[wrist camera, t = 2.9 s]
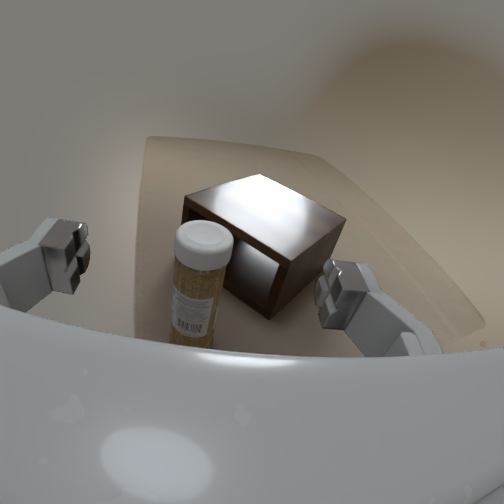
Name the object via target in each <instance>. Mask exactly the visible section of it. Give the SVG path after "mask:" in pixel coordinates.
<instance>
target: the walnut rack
mask: <svg viewBox="0 0 504 504" xmlns="http://www.w3.org/2000/svg"><path fill="white" fill-rule="evenodd" d="M194 220H206V221H211V222H215V223H218V224H220V225H222V226H224V227H225V228H226V229H228V230H229V231H230V233H231V234H232V236H233V241H234V242H233V248H232V254H231V258H230V261H229V262H228V264H227V266H226V270H225V276H224V281H223V285H222V286H223V287H224V288H226V289H227V290H228V291H230V292H231V293H232V294H234V295H235V296H237V297H238V298H239V299H241V300H242V301H243V302H245V303H246V304H248V305H249V306H250V307H252V308H253V309H255V310H256V311H257V312H259V313H260V314H262V315H263V316H264V317H266V318H267V319H271V318H272V317H273V316H274V315H275V314H276V313H277V312H278V311H279V310H281V309H282V308H283V307H284V306H285V305H286V304H287V303H288V302H289V301H290V300H291V299H293V298H294V297H295V296H296V295H297V294H298V293H299V292H300V291H301V290H302V289H303V288H304V287H305V286H307V285H308V284H309V283H310V282H311V281H312V280H313V279H314V278H315V277H316V276H317V275H318V274H319V273H320V272H321V271H322V270H323V269H322V268H323V266H324V264H325V262H326V261H327V260H328V259H330V257H331V254H332V252H333V250H334V248H335V245H336V243H337V241H338V238H339V236H340V234H341V231H342V229H343V227H344V224H345V222H346V219H345V218H344V217H342V216H340V215H338V214H336V213H335V212H333V211H331V210H329V209H327V208H325V207H323V206H321V205H320V204H318V203H316V202H314V201H312V200H310V199H308V198H306V197H304V196H302V195H300V194H298V193H296V192H295V191H293V190H291V189H289V188H287V187H285V186H283V185H281V184H279V183H277V182H275V181H272V180H270V179H268V178H266V177H264V176H262V175H260V174H258V175H254V176H250V177H247V178H243V179H239V180H236V181H232V182H229V183H225V184H222V185H218V186H215V187H212V188H208V189H205V190H202V191H198V192H195V193H192V194H189V195H185V197H184V205H183V213H182V222H181V225H183V224H184V223H186V222H189V221H194Z"/></svg>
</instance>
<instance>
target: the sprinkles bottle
mask: <svg viewBox="0 0 504 504" xmlns="http://www.w3.org/2000/svg"><path fill="white" fill-rule="evenodd" d="M233 242H234V241H233V236H232V234H231V233H230V231H229V230H228V229H226V228H225V227H224V226H222V225H220V224H218V223H215V222H211V221H206V220H194V221H189V222H186V223H184V224H183V225H181V226H180V227H179V228H178V230H177V231H176V236H175V245H174V253H175V258H176V261H175V273H174V279H173V293H172V313H171V320H172V329H171V333H170V339H171V343H172V344H175V345H183V346H190V347H198V348H206V349H210V347H211V345H212V341H213V331H214V327H215V324H216V320H217V315H218V309H219V304H220V302H219V300H220V296H221V291H222V285H223V281H224V276H225V270H226V266H227V264H228V262H229V261H230V258H231V254H232V248H233Z"/></svg>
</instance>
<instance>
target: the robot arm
mask: <svg viewBox="0 0 504 504" xmlns="http://www.w3.org/2000/svg"><path fill="white" fill-rule="evenodd" d="M87 236H88V227H87V225H86V224H85V223H82V222H76V221H70V220H64V219H58V218H51V217H49V218H46V219H45V220H44V221H43V222H42V223H41V225H40V226H39V227H38V228H37V229H36V230H35V232H34V233H33V234H32V235H31V236H30V238H29V239H28V240H27V241H26V242H21V243H19V244H16V245H14V246H12V247H10V248H8V249H6V250H4V251H2V252H0V504H504V347H500V348H493V349H487V350H486V349H485V350H477V351H469V352H460V353H448V354H444V353H443V351H442V349H441V347H440V345H439V343H438V341H437V339H436V337H435V335H434V333H433V331H432V330H430V329H429V328H428V327H427V326H426V325H424V324H423V323H422V322H421V321H420V320H418V319H417V318H416V317H415V316H413V315H412V314H411V313H410V312H409V311H407V310H406V309H405V308H404V307H402V306H401V305H400V304H399V303H397V302H396V301H395V300H394V299H392V298H391V297H390V296H389V295H387V294H383V292H382V290H381V288H380V286H379V284H378V282H377V280H376V278H375V276H374V275H373V273H372V271H371V269H370V267H369V266H368V265H367V264H364V263H355V262H354V263H353V262H346V261H338V260H331V259H328V260H327V261H326V262H325V264H324V266H323V268H322V269H323V272H324V275H322V276H321V277H319V278H318V280H317V282H316V285H315V290H314V300H315V304H316V305H317V306H318V307H319V308H320V311H319V313H318V315H319V318H320V322H321V326H322V328H324V329H335V330H344V332H345V333H346V334H347V335H348V337H349V338H350V339H351V340H352V341H353V343H354V344H355V345H356V346H357V347H358V348H359V350H360V351H361V352H362V353H363V354H364V355H365V357H306V356H285V355H270V354H257V353H245V352H234V351H224V350H215V349H206V348H198V347H190V346H183V345H175V344H169V343H162V342H156V341H150V340H144V339H138V338H132V337H127V336H121V335H116V334H111V333H106V332H101V331H97V330H92V329H87V328H83V327H79V326H74V325H70V324H65V323H62V322H57V321H53V320H50V319H46V318H42V317H39V316H35V315H32V314H28V313H26V312H27V311H28V310H29V309H31V308H32V307H33V306H34V305H36V304H37V303H38V302H40V300H42V299H43V298H45V297H46V296H47V295H48V294H50V293H51V292H52V291H57V292H62V293H67V294H74V292H75V290H76V288H77V287H78V285H79V283H80V275H81V274H83V273H85V271H86V269H87V267H88V264H89V260H90V246H89V244H88V243H87V241H86V240H85V239H86V237H87Z"/></svg>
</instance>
